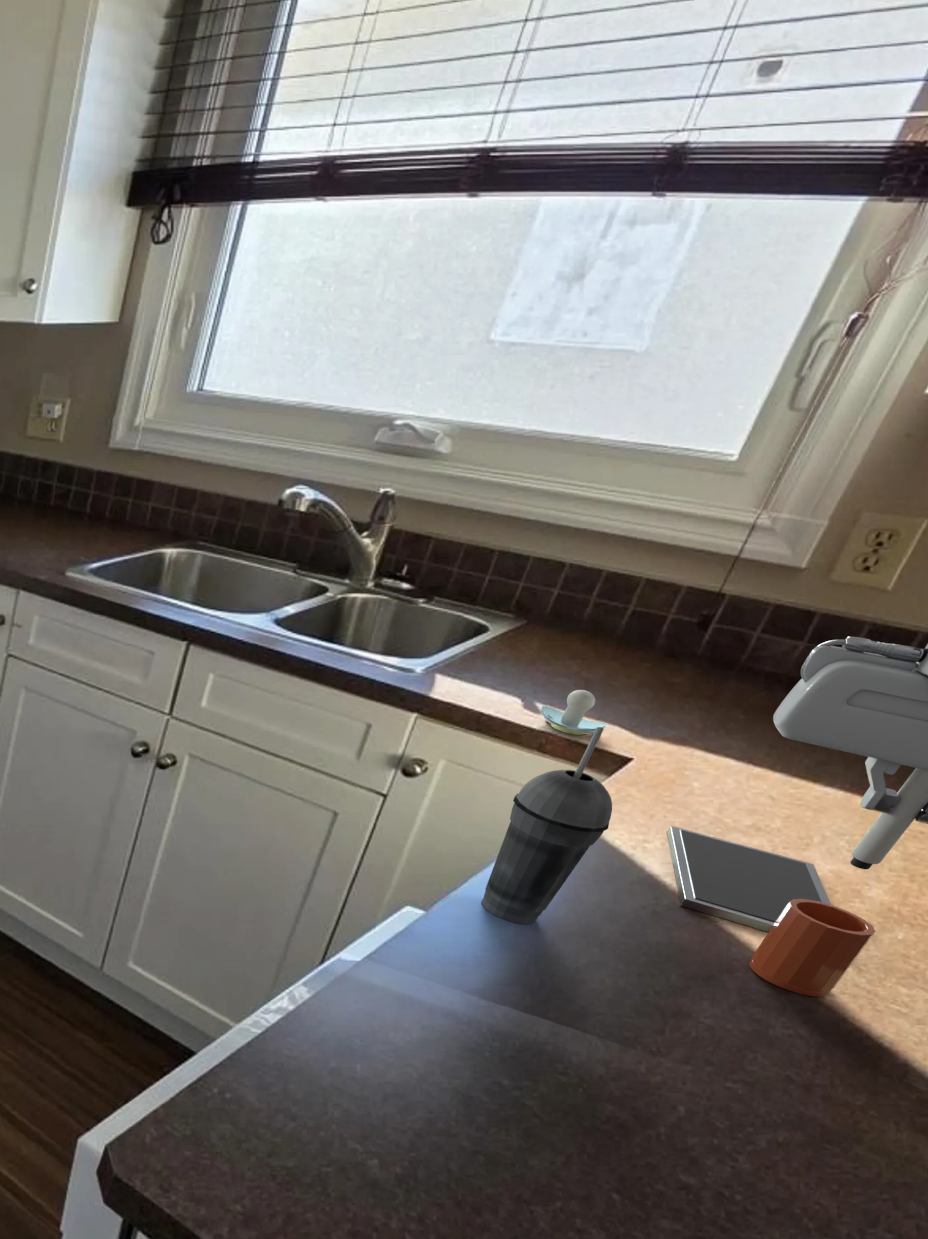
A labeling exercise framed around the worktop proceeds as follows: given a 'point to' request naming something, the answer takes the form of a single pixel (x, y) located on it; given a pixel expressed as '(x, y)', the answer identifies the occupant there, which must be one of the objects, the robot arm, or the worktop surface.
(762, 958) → the pen pot
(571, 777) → the beverage cup
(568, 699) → the pacifier
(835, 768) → the worktop surface
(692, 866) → the tablet
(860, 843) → the stylus
